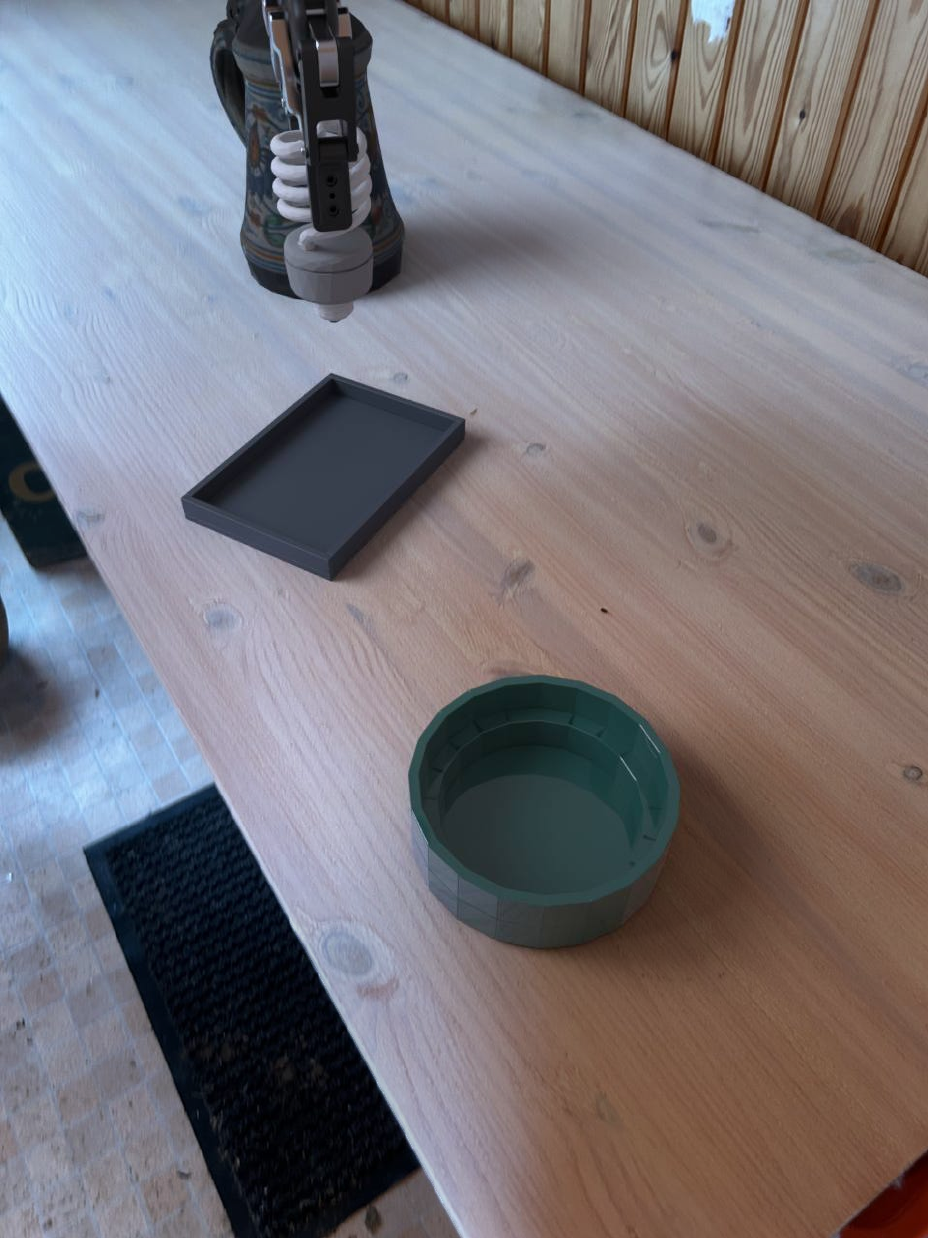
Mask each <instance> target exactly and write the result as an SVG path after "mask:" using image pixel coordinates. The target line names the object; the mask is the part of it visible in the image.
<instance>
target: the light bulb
mask: <svg viewBox="0 0 928 1238" xmlns="http://www.w3.org/2000/svg"><path fill="white" fill-rule="evenodd" d="M326 131H328V132H326ZM329 132H334V133H338V132H337V125H336V120H329V121H321V122H319V123H318V125H317V136H318V138H320V137H331V136H338V135H337V134H333V133H329ZM357 143H358V146H359V154H358V159H357V162H348V164H349V173H350V174H349V177H350V191H351V205H352V211H354V210H356V209H357V208H358V209H357V211H356V212H354V213H353V214H352V219H353V222H352V225H351V227H350V228H349V229H347V230H341V231H332V232H322V233H321V232H318V231H316V230H315V228H314V226H313V223H310V224H307V225H303V226H301V227H299V228H297V229H296V230H294V231H293V232H291V233H290V234H289V235H288V236H287V238H286V240H285V243H284V260H285V264H286V268H287V273H288V277H289V282H290V286H291V288H292V290H293V291H294V293H295V294H296V295H297V296H299V297H300V298H302V299H301V300H303V301H306V302H309V303H312V304H313V311H314V313H315V314H316V315H317V316H318V317H319V318H321V319H323V320H324V321H328V322H329V323H331V324H332V323H333V324H335V323H336V324H337V323H339V322H340V321H342V320H346V319H347V318H348V317H349V316H350V315H351V314H352V313H353V312H354V308H355V306H354V304H355V301H356V300H359V299H361V298H362V297H363V296H364V295H366V294H368V293H369V292H368V291H369V289H370V287H371V285H372V276H373V248H372V241H371V239H370V236H369V235H368V234H367V233H366V232H365V231H364V230H363V229H361V228H360V227H358V225H360V224H361V223H362V222H363V221H364V220H365V219H366V217H367V215H368V214H369V211H370V209H371V198H370V193H371V190H372V181H371V177H370V175H369V172H370V161H369V158H368V155H367V154H366V149H367V142H366V138H365V135H364V134H363V132H362V131H361V130H360V129H359V128H358V127H357ZM270 147H271V150H272V152H273V153H274V154H275V155H277V156H276V157H275V158H274V159H273V160H272V163H271V170H272V172H273V173H274V175H276V176H277V178H276V179H275V181H274V182H273V186H272V187H273V191H274V193H275V194H276V195H277V196H278V197H279V198H280V199H279V201H278V203H277V208H278V211H279V212H280V214H281V215H282V216H283V217H285V218H287V219H290V220H293V221H300V222H312V221H311V212H310V208H296V207H299V206H303V205H310V203H309V193H308V187H305V188H296V187H292V186H295V185H305V184H307V174H306V165H302V164H305V161H304V157H302V156H301V151H300V147H302V143H301V136H300V130H293V131H287V132H283V133H281V134H278V135H276V136H275V137H273V139H272V141H271V144H270ZM293 165H300V166H293Z"/></svg>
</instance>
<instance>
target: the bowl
mask: <svg viewBox="0 0 928 1238" xmlns="http://www.w3.org/2000/svg"><path fill="white" fill-rule="evenodd" d="M407 788H408V805H409V807H408V808H409V823H410V834H411V847H412V854H413V858H414V860H415V863H416V865H417V867H418V869H419V871H420V873H421V875H422V878H423V880H424V882H425V884H426V886H427V888H428V890H429V891H430V893H432V895H434V896H435V897H436V899H437V900H438V901H439V902H440V903H441V904H442V905H443V907H445V908H446V909H447V910H448V911H449V912H450V913H451V914H452V915H453V917H455V918H456V920H459V921H460V922H462V923H464V924H466V925H468V926H470V927H471V928H473V929H475V930H476V931H479V932H481V933H482V934H484V935H486V936H488V937H489V938H491V939H493V940H496V941H499V942H505V943H509V944H514V945H519V946H525V947H529V948H534V949H547V948H559V947H565V946H566V947H567V946H575V945H576V946H577V945H583V944H585V943H587V942H590V941H592V940H594V939H596V938H599V937H601V936H603V935H605V934H607V933H610V932H612V931H614V930H616V929H619V928H620V927H621V926H623V924H625V923H626V922H627V921H628V920H629V919H630V918H631V917H632V916H633V915H634V914H635V913H636V912H637V911H638V910H639V909H641V907H642V906H644V904H645V903H646V902H647V901H648V900H649V898H650V896H651V895H652V892H653V889H654V887H655V885H656V884H657V882H658V879H659V878H660V875H661V872H662V871H663V868H664V865H665V862H666V859H667V857H668V854H669V850H670V848H671V845H672V842H673V839H674V837H675V834H676V830H677V828H678V823H679V815H680V814H679V813H680V799H681V784H680V780H679V777H678V774H677V771H676V767H675V764H674V761H673V757H672V755H671V752H670V749H669V748H668V747H667V745H666V744H665V742H664V741H663V739H662V738H661V737H660V735H659V734H658V733H657V731H656V730H655V729H654V727H653V726H652V724H651V723H650V722H649V721H648V720H647V718H645V717H644V716H643V715H642V714H640V713H639V712H638V711H636V710H635V709H634V708H633V707H631V706H630V705H629V704H628V703H626V702H625V701H624V700H622V699H621V698H620V697H618V696H617V695H616V694H613V693H610V692H608V691H606V690H603V689H601V688H599V687H596V686H594V685H591V684H590V683H587V682H585V681H582V680H578V679H572V678H565V677H559V676H553V675H547V674H534V675H533V674H532V675H531V674H530V675H519V676H506V677H501V678H498V679H495V680H493V681H490V682H487V683H484V684H482V685H478V686H475V687H473V688H469V689H468V690H466V691H465V692H463V693H461V695H459V696H458V697H456V698H455V699H453V700H452V701H450V702H449V703H448V704H446V705H445V706H444V707H442V708H441V709H440V710H438V711H437V713H436V714H435V715H434V716H433V718H432V719H431V721H430V722H429V724H428V725H427V726H426V727H425V729H424V730H423V732H422V733H421V734H420V735H419V737H418V739H417V740H416V743H415V747H414V750H413V753H412V757H411V761H410V764H409V767H408V771H407Z"/></svg>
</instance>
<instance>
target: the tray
mask: <svg viewBox="0 0 928 1238" xmlns="http://www.w3.org/2000/svg"><path fill="white" fill-rule="evenodd" d="M465 440H466V418H463V417H461V416H457V415H455V414H453V413H452V414H451V413H449V412H446V411H443V410H440V409H437V408H434V407H431V406H429V405H426V404H423V403H421V402H417V401H415V400H411V399H409V398H405V397H402V396H400V395H397V394H394V393H391V392H388V391H385V390H383V389H380V388H376V387H374V386H370V385H368V384H365V383H362V382H359V381H356V380H354V379H351V378H348V377H345V376H342V375H339V374H336V373H333V372H330V373H329V374H327V375H325V377H324V378H323V379H321V380H320V381H319V382H318V383H316V384H315V385H314V386H313V387H311V388H310V390H308V391H307V392H306V393H304V394H303V395H302V396H301V397H299V398H298V399H297V400H296V401H295V402H294V403H292V404H291V405H290V406H289V407H287V408H286V409H285V410H284V411H283V412H281V414H279V415H278V416H277V417H276V418H274V419H273V420H272V421H271V422H270V423H268V424H267V425H266V426H265V427H264V428H262V429H261V430H260V431H259V432H257V434H255V435H254V436H253V437H251V438H250V439H249V440H248V441H246V442H245V444H243V445H242V446H241V447H239V449H237V450H236V451H235V452H234V453H233V454H231V455H230V456H229V457H228V458H227V459H225V460H224V461H223V462H222V463H220V464H219V465H217V467H215V468H214V469H213V470H212V471H211V472H210V473H208V474H207V475H206V476H205V477H204V478H203V479H201V480H200V481H199V482H198V483H196V484H195V485H194V486H193V487H192V488H190V489H189V490H188V491H187V492H186V493H184V494H183V495H182V496H181V497H180V503H181V507H182V509H183V513H184V518H185V519H186V520H189V521H190V522H193V523H196V524H198V525H199V526H202V527H204V528H207V529H209V530H211V531H214V532H216V533H218V534H220V535H223V536H225V537H228V538H230V539H232V540H234V541H236V542H239V543H240V544H244V545H246V546H249V547H251V548H253V549H256V550H258V551H260V552H262V553H264V554H267V555H270V556H272V557H274V558H276V559H279V560H280V561H283V562H285V563H288V564H290V565H293V566H295V567H297V568H300V569H301V570H304V571H306V572H309V573H311V574H313V575H316V576H317V577H321V578H323V579H325V580H327V581H330V582H331V581H333V579H335V577H336V576H337V575H338V574H339V573H340V572H341V571H342V570H343V569H344V568H345V567H346V566H347V565H348V564H349V563H350V562H351V561H352V559H353V558H355V556H356V555H357V554H358V553H359V552H360V551H361V550H362V549H363V548H364V547H365V546H366V544H368V542H370V541H371V539H372V538H373V537H374V536H375V535H376V534H377V533H378V532H379V531H380V530H381V529H382V528H383V527H384V526H385V525H386V523H388V522H389V520H390V519H392V517H394V515H395V514H396V513H397V512H398V511H399V510H400V509H401V508H402V507H403V505H404V504H405V503H406V502H407V501H409V500H410V498H411V497H413V495H414V494H415V493H416V492H417V490H419V489H420V488H421V486H423V484H424V483H426V481H427V480H429V478H430V477H431V476H432V475H433V474H434V473H435V472H436V471H437V470H438V468H440V466H442V465H443V464H444V462H446V460H447V459H448V458H449V457H450V456H451V455H452V454H453V453H454V451H455V450H456V449H458V447H459V446H461V444H462V443H463V442H464V441H465Z"/></svg>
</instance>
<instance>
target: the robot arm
mask: <svg viewBox="0 0 928 1238" xmlns="http://www.w3.org/2000/svg"><path fill="white" fill-rule="evenodd" d="M262 8H263V17H264V21H265V26H266V30H267V34H268V36H269V37H270V48H271V61H272V65H273V70H274V74H275V78H276V82H277V84H279V87H280V91H283V98H281V100H282V107H283V108H284V107H285V112H286V114H293V115H294V116H288V118H289V126H290V131H293V130H300V136H301V143H302V147H300V151H301V156H302V157H304V161H305V164H302V165H306V174H307V184H305V185H308V193H309V203H310V212H311V221H312V223H313V226H314V228H315V230H316V231H318V232H321V233H322V232H332V231H341V230H347V229H349V228H350V227H351V225H352V222H353V219H352V205H351V191H350V177H349V164H348V162H357V159H358V154H359V146H358V143H357V126H356V99H355V71H354V57H356V50H355V45H354V44H353V43H352V30H351V22H350V14H349V12H350V10H349V6H348V5H342V1H341V0H262ZM329 120H336V125H337V132H338V136H331V137H320V138H318V136H317V125H318V123H319V122H321V121H329ZM326 132H328V131H326ZM329 133H330V132H329ZM294 166H300V165H294Z"/></svg>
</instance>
